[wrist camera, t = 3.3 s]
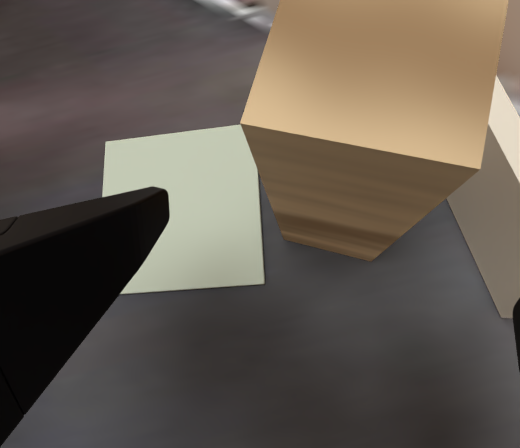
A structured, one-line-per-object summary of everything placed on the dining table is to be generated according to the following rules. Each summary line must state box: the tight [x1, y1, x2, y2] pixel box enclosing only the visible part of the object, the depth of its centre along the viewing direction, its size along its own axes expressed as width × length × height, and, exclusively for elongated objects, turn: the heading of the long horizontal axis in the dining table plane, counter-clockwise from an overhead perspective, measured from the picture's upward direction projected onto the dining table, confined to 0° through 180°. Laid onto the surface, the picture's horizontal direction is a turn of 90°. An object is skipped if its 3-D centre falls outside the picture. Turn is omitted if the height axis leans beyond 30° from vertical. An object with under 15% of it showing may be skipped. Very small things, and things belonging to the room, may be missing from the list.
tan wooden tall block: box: [240, 0, 508, 261], centre depth 14 cm, size 5×5×13 cm
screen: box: [446, 76, 520, 318], centre depth 16 cm, size 10×1×6 cm, turn 16°
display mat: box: [102, 125, 265, 294], centre depth 21 cm, size 10×10×1 cm
